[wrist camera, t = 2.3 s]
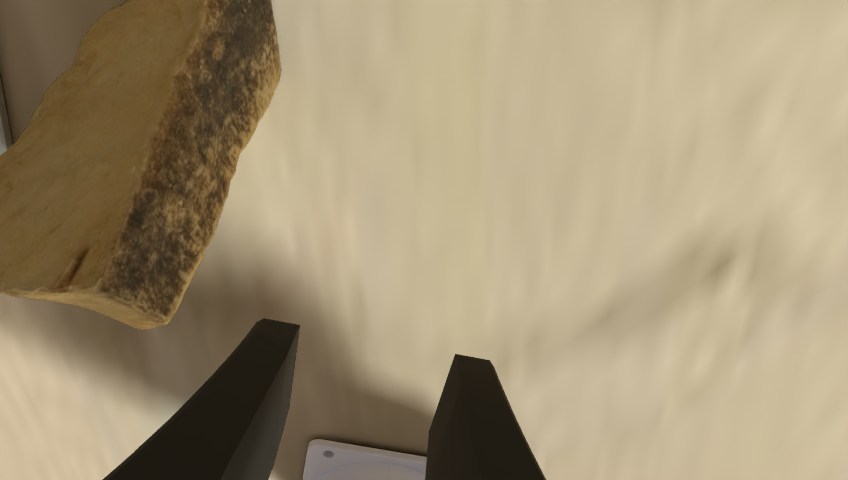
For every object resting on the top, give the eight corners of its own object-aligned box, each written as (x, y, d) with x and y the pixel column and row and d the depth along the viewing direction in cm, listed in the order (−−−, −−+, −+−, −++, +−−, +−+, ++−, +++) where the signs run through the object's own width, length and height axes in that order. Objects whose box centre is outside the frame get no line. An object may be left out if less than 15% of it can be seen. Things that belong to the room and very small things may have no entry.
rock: (49, 312, 20) (311, 315, 18) (-309, 329, 12) (107, 340, 9) (67, 19, 21) (318, -10, 19) (-252, -161, 12) (137, -249, 10)
